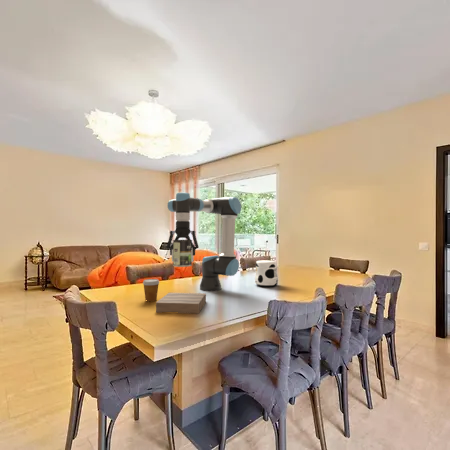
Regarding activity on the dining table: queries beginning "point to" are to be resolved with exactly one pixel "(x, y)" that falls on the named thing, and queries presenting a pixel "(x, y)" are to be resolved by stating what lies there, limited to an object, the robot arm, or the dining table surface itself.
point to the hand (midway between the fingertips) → (182, 261)
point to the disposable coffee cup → (151, 289)
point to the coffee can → (182, 253)
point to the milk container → (266, 273)
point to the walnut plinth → (181, 302)
